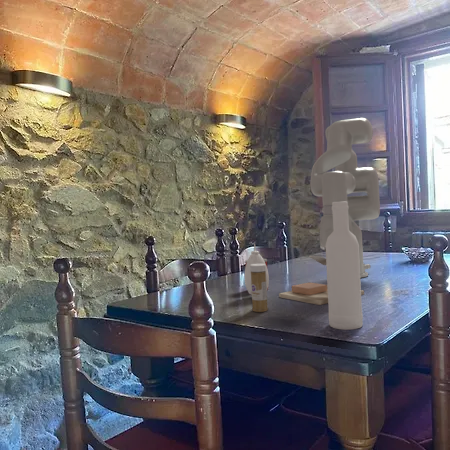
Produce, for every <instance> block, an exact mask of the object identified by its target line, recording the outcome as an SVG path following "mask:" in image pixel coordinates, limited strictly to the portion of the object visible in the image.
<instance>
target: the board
mask: <svg viewBox="0 0 450 450" xmlns="http://www.w3.org/2000/svg"><path fill="white" fill-rule="evenodd" d="M363 295H365V290H363V289H361V296H363ZM278 296H279V298H281V299H282V298H283V299H288V300H291V301H298V302H302V303H307V304H312V305H313V304H314V305H318V306H321V305H326V304H328V287H327V291H326V292H321V293H317V294H312V295H306V294H301V293H295V292H292V290H289V291H285V292H280V293H278Z"/></svg>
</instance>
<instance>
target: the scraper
mask: <svg viewBox="0 0 450 450" xmlns="http://www.w3.org/2000/svg"><path fill="white" fill-rule="evenodd" d="M308 257H309V258H311V259H312V260H314V261H315V262H317V263H318V264H321V265H323V266H326V257H324V256H322V255H309V256H308Z"/></svg>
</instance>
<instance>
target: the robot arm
mask: <svg viewBox="0 0 450 450" xmlns="http://www.w3.org/2000/svg"><path fill="white" fill-rule="evenodd" d="M373 132H374V131H373V125H372V123H371V121H370V120H369V119H367V118H365V117H360V118H359V117H357V118H351V119H350V118H349V119H342V120H337V121H334V122H333V123H331V124H330V125H329V126H327V128H326V129H325V133H324V134H325V138H326V139H325V140H326V142H327V145H326V151H325V152H323V153H322V154H321V155H320V156H319V157H318V158H317V159H316V161H314V164H313V166H312V168H311V174H310V180H309V181H310V183H309V184H310V191H311V193H312V195H314V197H315V196H316V197H321V198H322V209H321V212H322V213H323V214H322V216H321V218H320V225H319V245H320V249H321V250H323V251H324V252H325V253H326V247H325V246H326V242H327V238H328V237H329V236H330V234H331V233H332V232H333V231H334V230H333V211H332V203H333V202H344V201H347V202H348V207H349V209H348V220H349V231H350V232H351V233H352V234H354V235H355V236H356V239H357V241H358V244H359V260H360V279H361V278H366V277H368V275H369V273H368V272H367V271H366V270H369V269H371V264H369V263H366V264H365V263H364V250H363V249H364V248H363V247H364V245H363V232H362V229H361V228H360V226H359V225H358V224H357V223H356V222H355V221H367V220H368V221H371V220H375V219H378V218H379V216H380V214H381V202H380V200H381V199H380V185H379V184H380V183H379V176H378V171H377V170H376V168H374V167H369V166H367V167H366V166H364V167H358V156H357V154H356V152H355V151H354V149H353V145H360V144H368V143H370V142H371V141H372V139H373V135H374V134H373ZM332 169H335V171H331V170H332ZM352 193H366V195H365V194H364V195H350V194H352ZM349 195H350V196H349Z"/></svg>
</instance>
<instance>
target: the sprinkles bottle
mask: <svg viewBox="0 0 450 450" xmlns="http://www.w3.org/2000/svg"><path fill="white" fill-rule="evenodd" d="M250 271H251V285H252V295H251V299H252V300H251V301H252V311H253V312H255V313H263V312H267V311H268V310H269V307H268V293H267V292H268V290H267V286H266V265H265V264H251V265H250Z"/></svg>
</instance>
